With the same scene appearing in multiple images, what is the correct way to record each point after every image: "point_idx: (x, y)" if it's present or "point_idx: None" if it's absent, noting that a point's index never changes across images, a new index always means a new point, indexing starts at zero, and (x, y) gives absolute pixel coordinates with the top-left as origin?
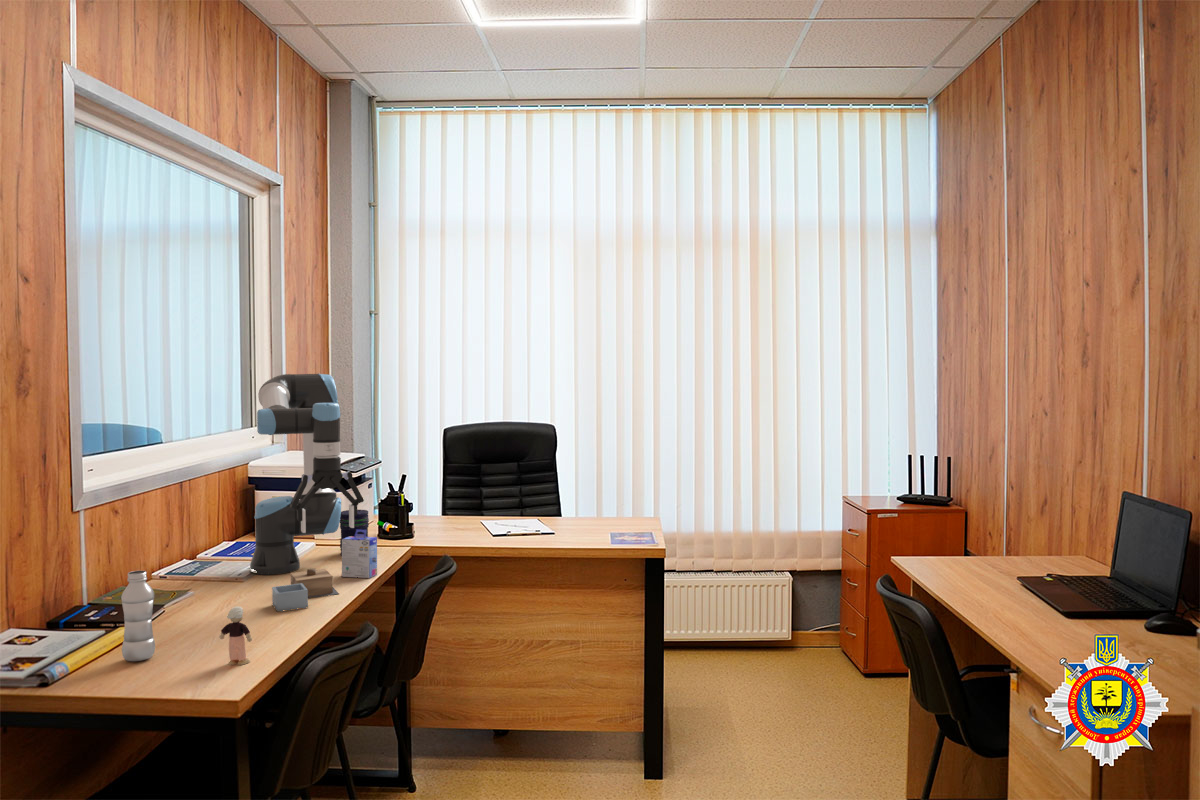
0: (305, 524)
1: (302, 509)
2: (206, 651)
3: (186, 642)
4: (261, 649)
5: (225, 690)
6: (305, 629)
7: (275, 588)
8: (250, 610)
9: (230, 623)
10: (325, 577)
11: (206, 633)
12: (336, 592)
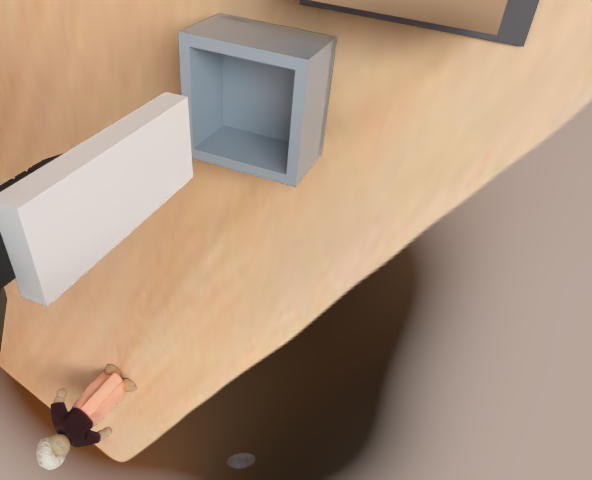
0: (149, 215)
1: (14, 259)
2: None
3: None
4: (156, 355)
5: (107, 438)
6: (257, 325)
7: (187, 70)
8: (143, 37)
9: (56, 430)
10: (454, 25)
11: None
12: (525, 13)
